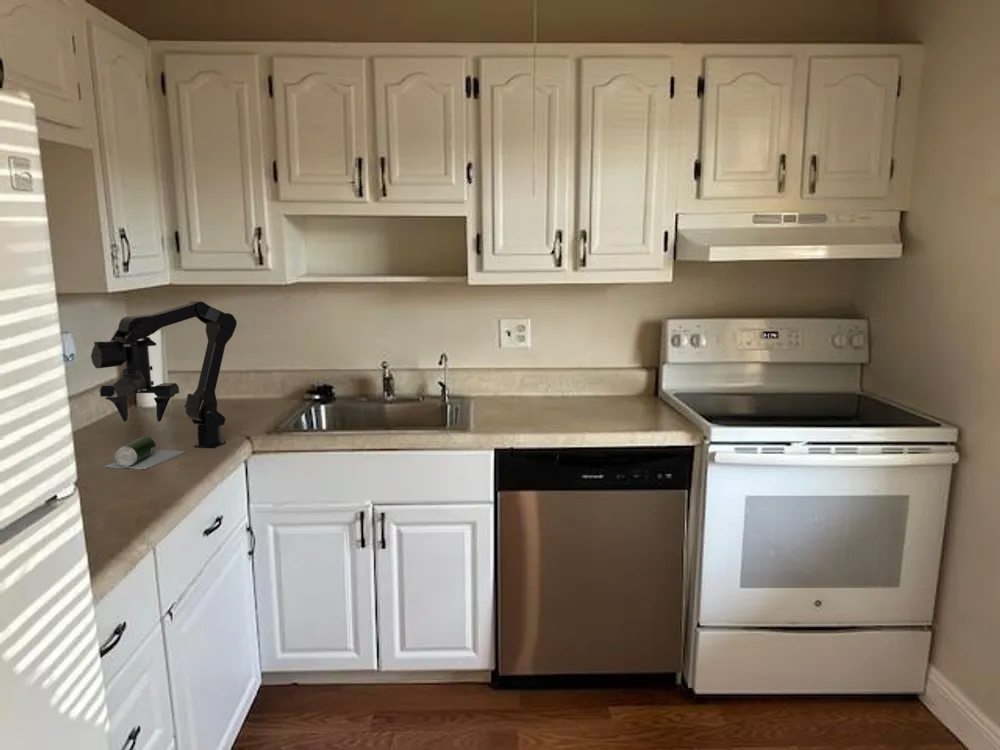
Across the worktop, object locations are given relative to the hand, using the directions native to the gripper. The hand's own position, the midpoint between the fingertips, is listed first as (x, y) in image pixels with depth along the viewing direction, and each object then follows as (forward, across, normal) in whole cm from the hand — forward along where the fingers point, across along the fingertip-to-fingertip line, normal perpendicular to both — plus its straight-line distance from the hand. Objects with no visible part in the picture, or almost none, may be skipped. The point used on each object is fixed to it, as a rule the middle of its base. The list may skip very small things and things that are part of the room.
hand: (142, 421), depth 187 cm
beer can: (+8, -1, +4) cm, 9 cm away
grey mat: (+11, 0, 0) cm, 11 cm away
